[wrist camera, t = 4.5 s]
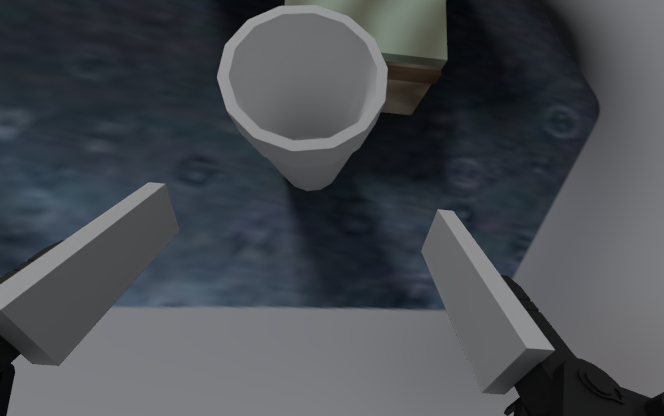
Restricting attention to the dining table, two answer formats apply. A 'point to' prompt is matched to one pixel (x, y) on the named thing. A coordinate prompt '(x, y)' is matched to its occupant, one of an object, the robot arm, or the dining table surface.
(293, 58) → the foam cup
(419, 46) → the step block
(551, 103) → the dining table surface
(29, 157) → the dining table surface
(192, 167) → the dining table surface
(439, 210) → the robot arm
